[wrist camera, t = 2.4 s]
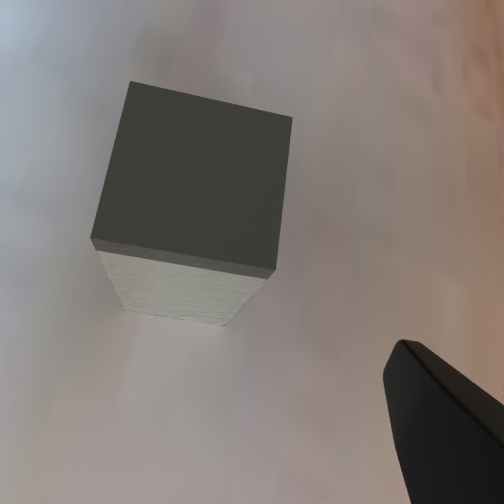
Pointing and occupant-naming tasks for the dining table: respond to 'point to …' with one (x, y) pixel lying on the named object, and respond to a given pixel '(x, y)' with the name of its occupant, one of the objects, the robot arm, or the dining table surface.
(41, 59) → the dining table surface
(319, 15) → the dining table surface
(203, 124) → the grey tall block
